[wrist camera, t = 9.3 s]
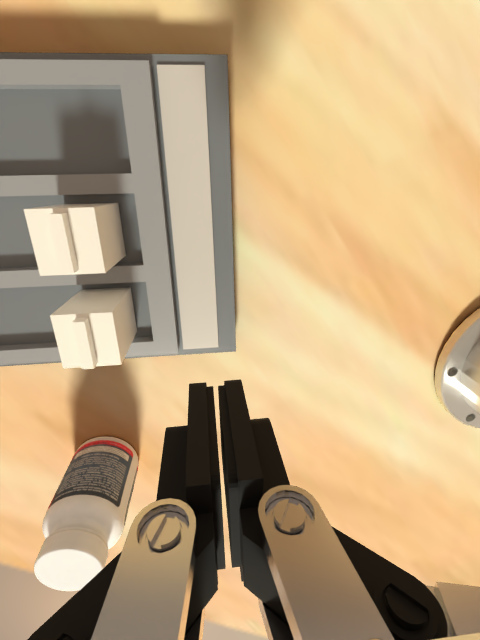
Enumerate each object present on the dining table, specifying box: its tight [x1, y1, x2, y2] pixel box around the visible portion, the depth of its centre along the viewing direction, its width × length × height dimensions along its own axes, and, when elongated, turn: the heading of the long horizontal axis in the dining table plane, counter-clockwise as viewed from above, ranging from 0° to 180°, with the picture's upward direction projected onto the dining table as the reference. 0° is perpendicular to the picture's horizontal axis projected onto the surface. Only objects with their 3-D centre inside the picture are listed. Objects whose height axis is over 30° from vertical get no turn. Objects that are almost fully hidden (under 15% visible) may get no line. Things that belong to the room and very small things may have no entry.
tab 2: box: [50, 287, 137, 369], centre depth 19 cm, size 3×3×5 cm
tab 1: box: [24, 203, 126, 276], centre depth 17 cm, size 3×3×5 cm
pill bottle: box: [34, 436, 139, 591], centre depth 24 cm, size 5×5×9 cm
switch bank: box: [0, 52, 236, 366], centre depth 20 cm, size 24×17×3 cm
